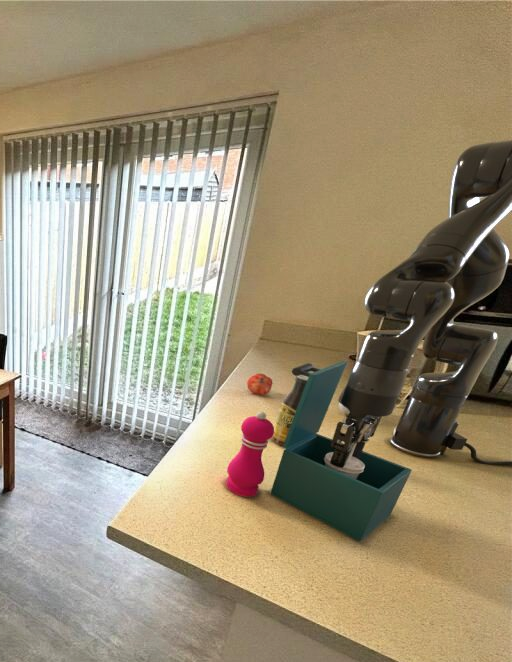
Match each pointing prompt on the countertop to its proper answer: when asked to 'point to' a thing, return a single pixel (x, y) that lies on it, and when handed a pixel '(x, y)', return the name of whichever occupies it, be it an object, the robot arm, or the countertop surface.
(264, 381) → the tomato
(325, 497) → the cool box
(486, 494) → the countertop surface
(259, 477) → the pepper mill
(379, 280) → the robot arm
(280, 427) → the sauce bottle
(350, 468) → the smoothie
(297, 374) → the lid
